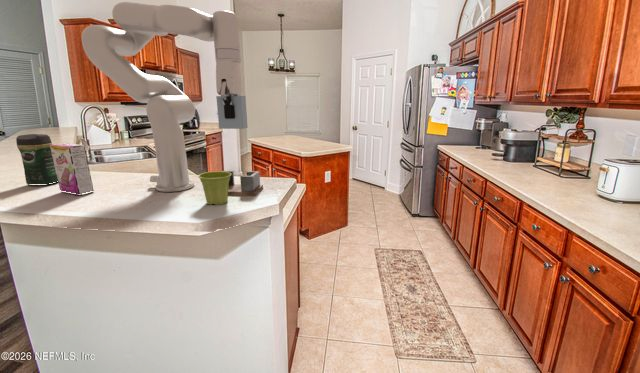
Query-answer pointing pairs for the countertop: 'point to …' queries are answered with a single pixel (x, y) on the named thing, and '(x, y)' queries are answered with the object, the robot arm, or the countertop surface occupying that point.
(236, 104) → the door panel
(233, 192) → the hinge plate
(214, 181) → the plant pot
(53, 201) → the countertop surface
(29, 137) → the coffee jar
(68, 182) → the candy bar box
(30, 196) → the countertop surface
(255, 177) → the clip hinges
